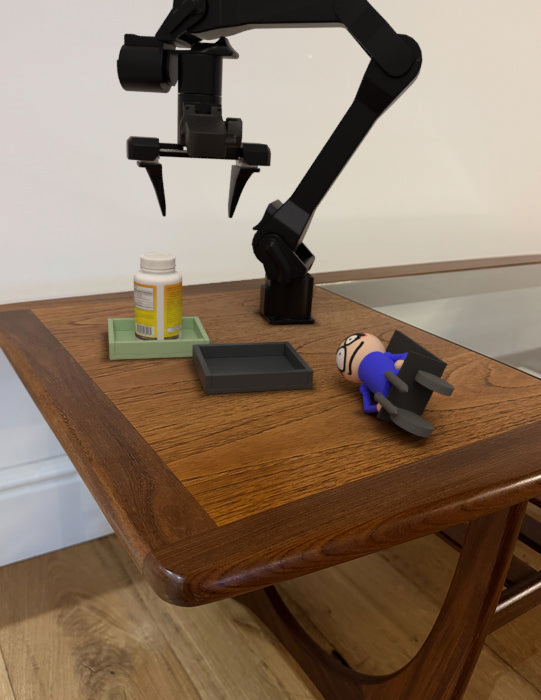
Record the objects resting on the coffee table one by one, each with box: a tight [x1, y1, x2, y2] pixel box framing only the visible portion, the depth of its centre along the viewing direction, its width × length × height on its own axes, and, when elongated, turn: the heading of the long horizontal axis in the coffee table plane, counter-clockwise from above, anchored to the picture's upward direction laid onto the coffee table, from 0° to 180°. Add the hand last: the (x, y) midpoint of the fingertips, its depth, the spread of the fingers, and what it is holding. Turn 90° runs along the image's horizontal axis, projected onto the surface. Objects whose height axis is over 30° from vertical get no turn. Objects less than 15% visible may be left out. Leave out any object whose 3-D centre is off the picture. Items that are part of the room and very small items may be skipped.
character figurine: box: [335, 329, 455, 438], centre depth 58 cm, size 8×7×15 cm
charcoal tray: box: [191, 341, 314, 395], centre depth 66 cm, size 11×9×2 cm
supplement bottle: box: [133, 252, 183, 341], centre depth 72 cm, size 6×6×10 cm
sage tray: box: [107, 315, 211, 361], centre depth 74 cm, size 11×9×2 cm
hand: (197, 216), depth 85 cm, fingers open, 9 cm apart
